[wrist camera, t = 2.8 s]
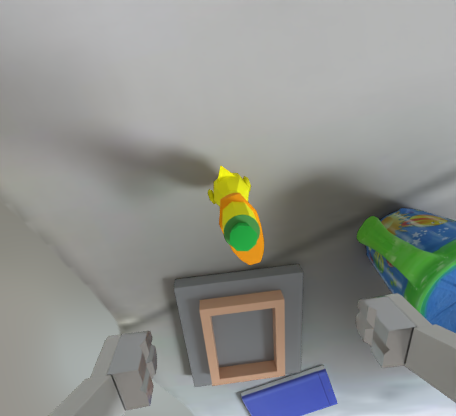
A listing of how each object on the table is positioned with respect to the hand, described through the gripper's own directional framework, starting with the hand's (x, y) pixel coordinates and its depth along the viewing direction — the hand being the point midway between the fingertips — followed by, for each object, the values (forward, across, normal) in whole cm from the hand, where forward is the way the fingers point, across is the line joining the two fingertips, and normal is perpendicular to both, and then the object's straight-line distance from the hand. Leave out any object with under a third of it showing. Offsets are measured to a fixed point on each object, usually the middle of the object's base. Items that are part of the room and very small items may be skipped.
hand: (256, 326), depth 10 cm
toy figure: (+17, -1, 0) cm, 17 cm away
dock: (+17, 0, +18) cm, 24 cm away
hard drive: (+18, -6, +33) cm, 38 cm away
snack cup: (+17, -19, +8) cm, 26 cm away
